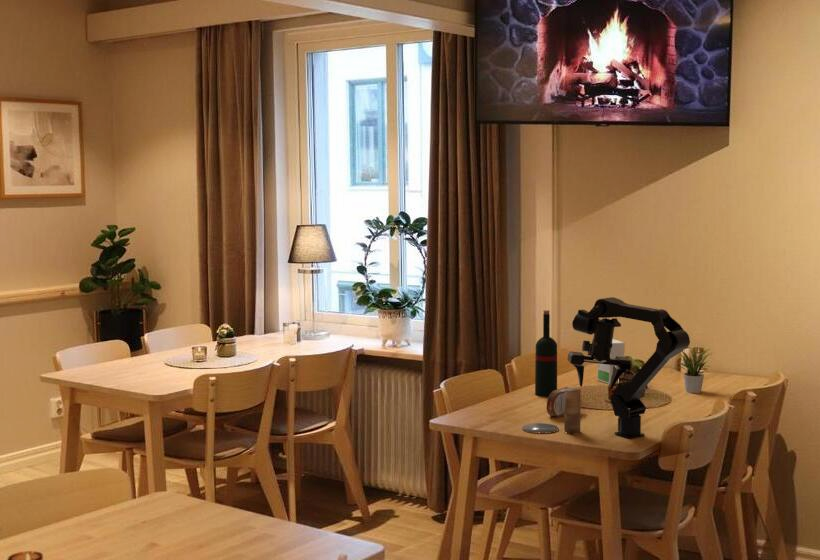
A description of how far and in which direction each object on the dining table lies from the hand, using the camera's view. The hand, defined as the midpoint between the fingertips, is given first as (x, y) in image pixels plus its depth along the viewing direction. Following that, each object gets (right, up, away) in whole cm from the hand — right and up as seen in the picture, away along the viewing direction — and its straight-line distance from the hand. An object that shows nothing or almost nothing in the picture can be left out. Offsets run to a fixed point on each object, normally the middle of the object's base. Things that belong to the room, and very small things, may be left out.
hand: (595, 387), depth 315 cm
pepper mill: (-8, -13, -3) cm, 15 cm away
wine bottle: (-8, -8, +51) cm, 52 cm away
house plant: (+46, -7, +53) cm, 70 cm away
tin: (-7, -11, +21) cm, 24 cm away
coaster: (-17, -13, +1) cm, 21 cm away
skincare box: (+19, -5, +71) cm, 74 cm away
